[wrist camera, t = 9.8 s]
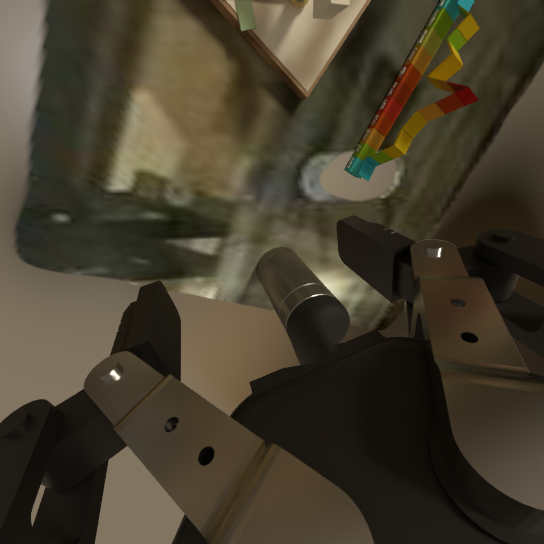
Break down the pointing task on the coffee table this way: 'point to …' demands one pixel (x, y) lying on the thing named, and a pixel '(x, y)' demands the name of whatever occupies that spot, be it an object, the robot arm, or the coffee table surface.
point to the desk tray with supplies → (292, 36)
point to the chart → (406, 82)
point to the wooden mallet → (324, 7)
